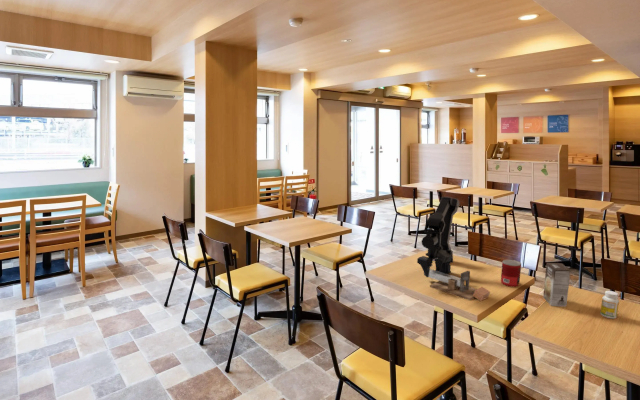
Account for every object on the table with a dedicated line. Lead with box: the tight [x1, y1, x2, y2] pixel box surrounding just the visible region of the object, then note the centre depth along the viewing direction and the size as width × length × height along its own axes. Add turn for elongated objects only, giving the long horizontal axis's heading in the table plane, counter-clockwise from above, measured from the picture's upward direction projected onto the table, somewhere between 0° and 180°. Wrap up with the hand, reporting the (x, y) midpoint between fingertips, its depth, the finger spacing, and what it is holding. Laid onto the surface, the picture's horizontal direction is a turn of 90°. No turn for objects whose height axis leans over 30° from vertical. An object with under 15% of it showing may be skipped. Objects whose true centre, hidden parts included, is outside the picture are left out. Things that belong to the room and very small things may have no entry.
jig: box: [429, 270, 477, 301], centre depth 179 cm, size 20×12×10 cm, turn 41°
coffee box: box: [542, 262, 572, 307], centre depth 165 cm, size 9×6×16 cm
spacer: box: [473, 286, 491, 302], centre depth 170 cm, size 4×6×3 cm, turn 132°
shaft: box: [423, 268, 461, 287], centre depth 184 cm, size 19×4×4 cm, turn 41°
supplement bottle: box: [600, 290, 620, 319], centre depth 153 cm, size 5×5×10 cm
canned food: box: [500, 259, 522, 288], centre depth 186 cm, size 8×8×11 cm
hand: (432, 274), depth 188 cm, fingers open, 9 cm apart
